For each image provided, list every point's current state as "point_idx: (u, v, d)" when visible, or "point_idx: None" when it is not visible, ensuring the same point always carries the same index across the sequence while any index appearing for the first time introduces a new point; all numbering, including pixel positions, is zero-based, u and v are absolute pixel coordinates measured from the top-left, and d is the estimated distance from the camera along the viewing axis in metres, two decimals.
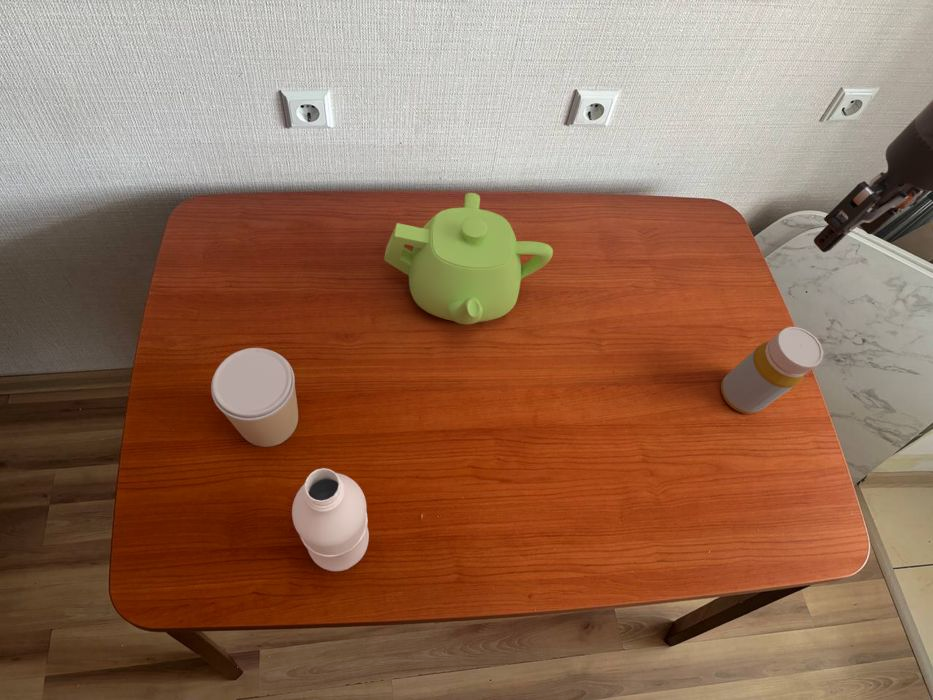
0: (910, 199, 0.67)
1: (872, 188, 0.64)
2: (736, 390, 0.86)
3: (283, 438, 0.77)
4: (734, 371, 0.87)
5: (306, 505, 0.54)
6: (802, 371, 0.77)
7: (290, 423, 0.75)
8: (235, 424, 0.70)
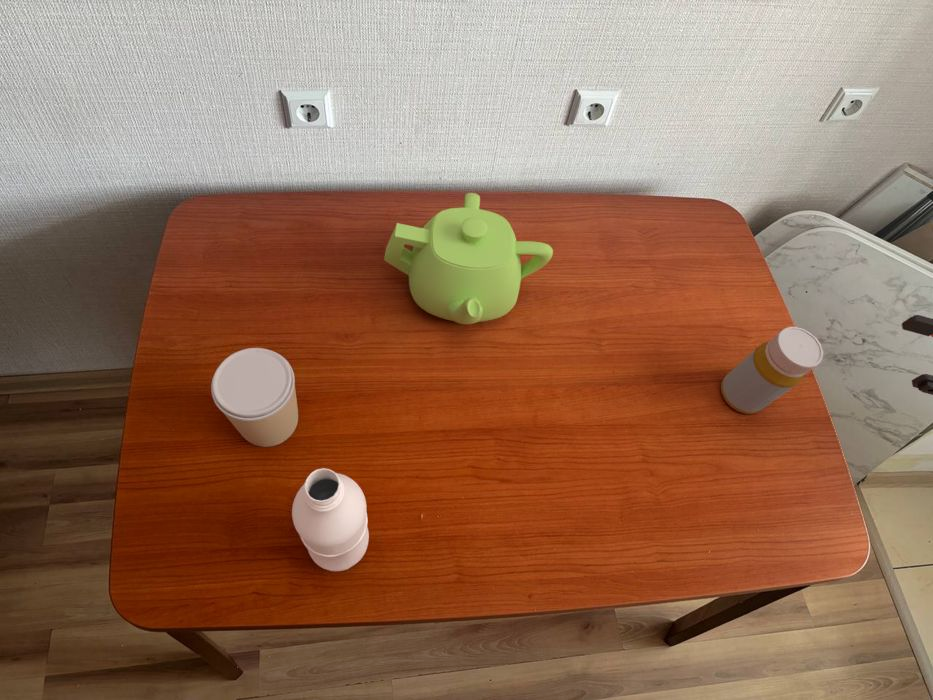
0: None
1: None
2: (736, 390, 0.86)
3: (283, 438, 0.77)
4: (734, 371, 0.87)
5: (306, 505, 0.54)
6: (802, 371, 0.77)
7: (290, 423, 0.75)
8: (235, 424, 0.70)
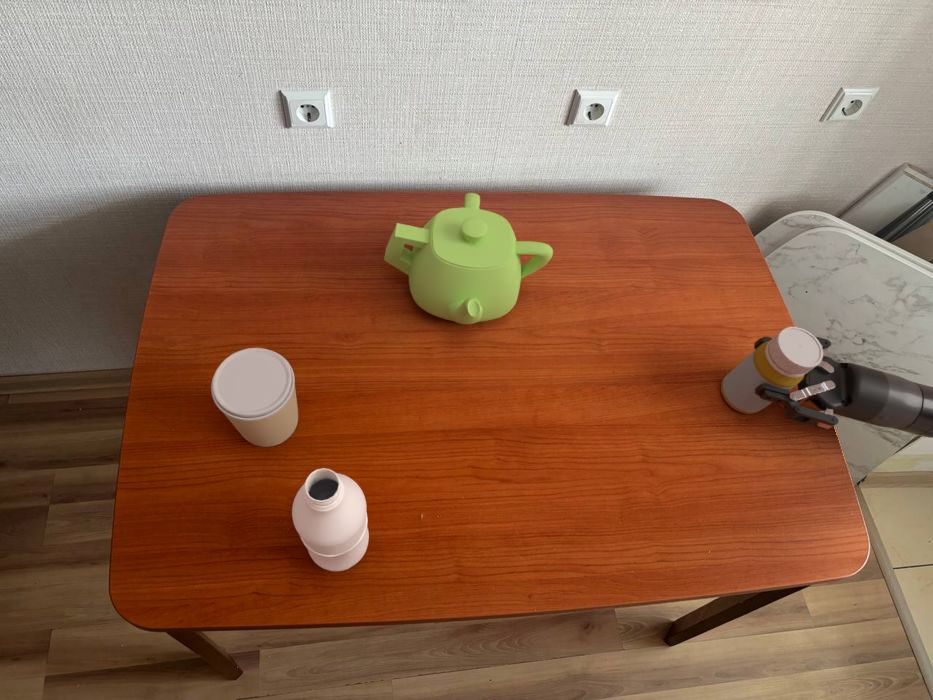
0: None
1: None
2: (736, 390, 0.86)
3: (283, 438, 0.77)
4: (734, 371, 0.87)
5: (306, 505, 0.54)
6: (802, 371, 0.77)
7: (290, 423, 0.75)
8: (235, 424, 0.70)
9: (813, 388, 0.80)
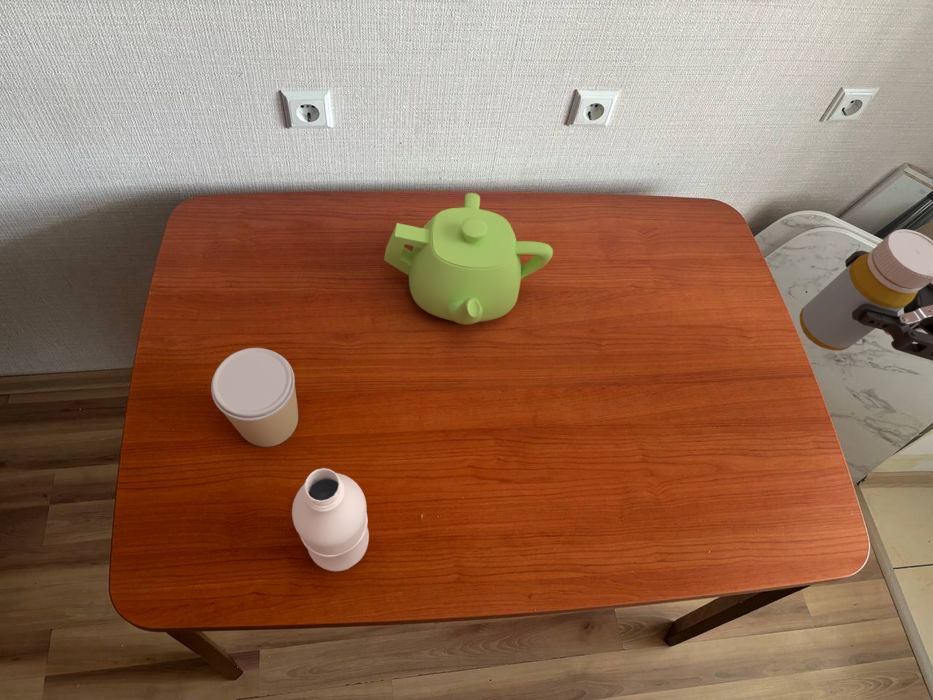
0: None
1: None
2: (822, 319, 0.69)
3: (283, 438, 0.77)
4: (819, 296, 0.70)
5: (306, 505, 0.54)
6: (920, 283, 0.60)
7: (290, 423, 0.75)
8: (235, 424, 0.70)
9: (928, 309, 0.63)
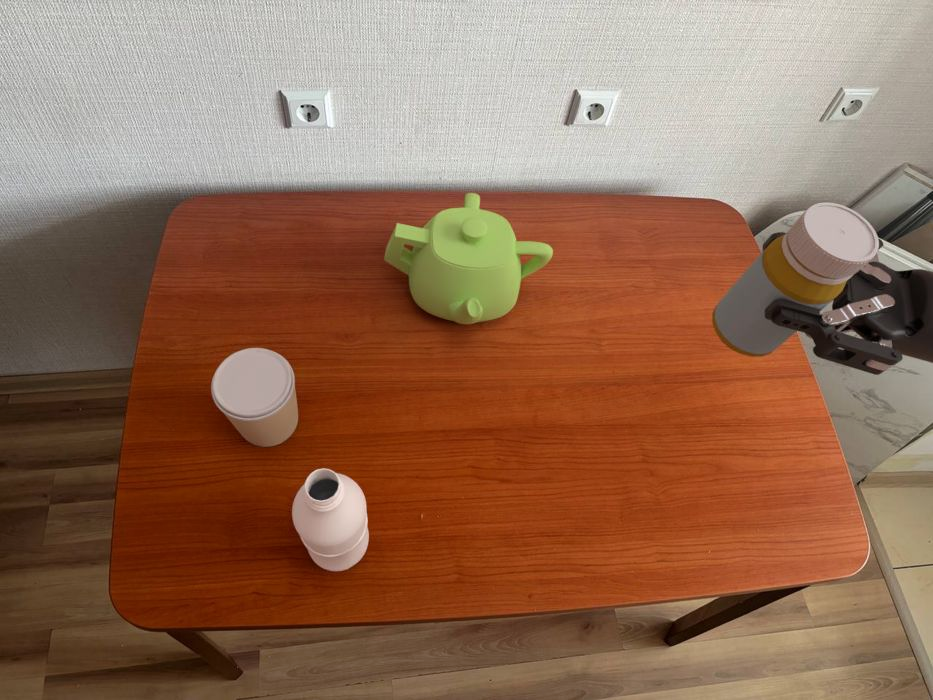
0: None
1: None
2: (735, 318, 0.55)
3: (283, 438, 0.77)
4: (732, 289, 0.56)
5: (306, 505, 0.54)
6: (844, 271, 0.46)
7: (290, 423, 0.75)
8: (235, 424, 0.70)
9: (859, 306, 0.50)
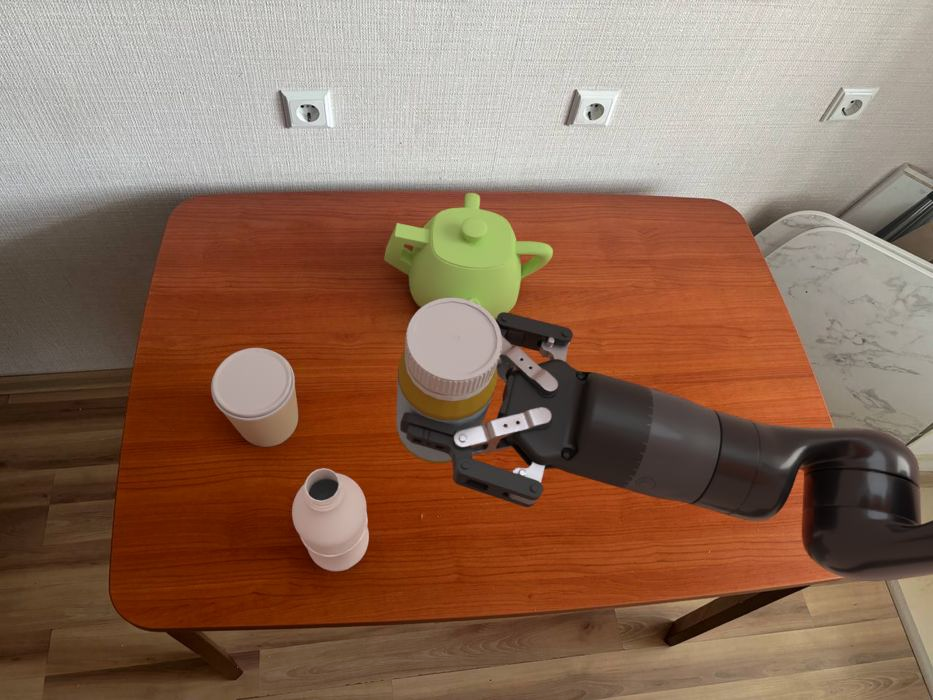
0: None
1: None
2: (399, 421, 0.46)
3: (283, 438, 0.77)
4: None
5: (306, 505, 0.54)
6: (453, 389, 0.37)
7: (290, 423, 0.75)
8: (235, 424, 0.70)
9: (504, 423, 0.40)
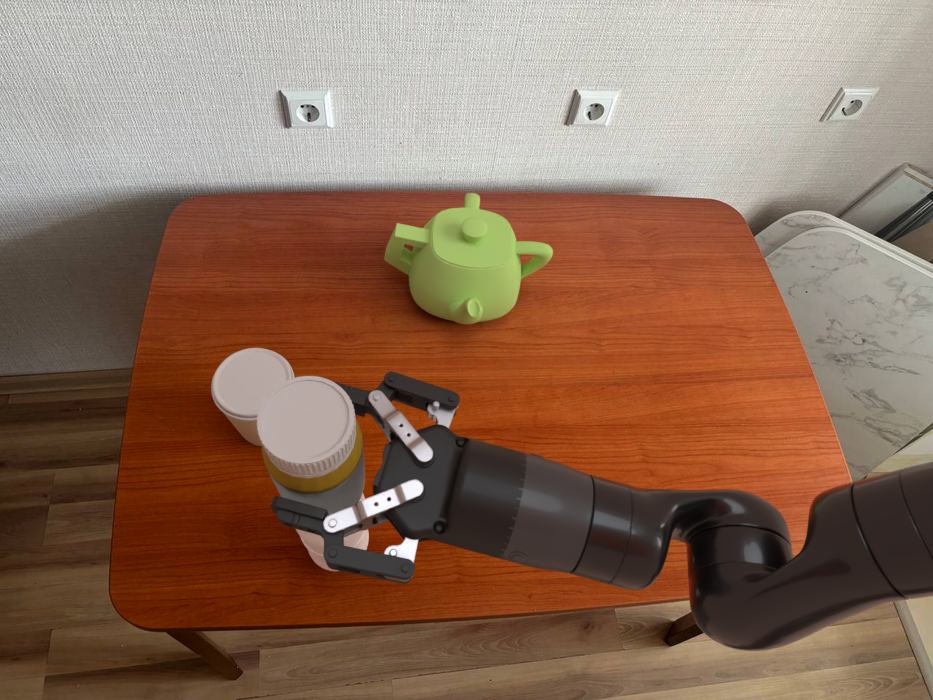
0: None
1: None
2: None
3: None
4: None
5: None
6: (304, 470, 0.38)
7: None
8: (235, 424, 0.70)
9: (375, 501, 0.39)
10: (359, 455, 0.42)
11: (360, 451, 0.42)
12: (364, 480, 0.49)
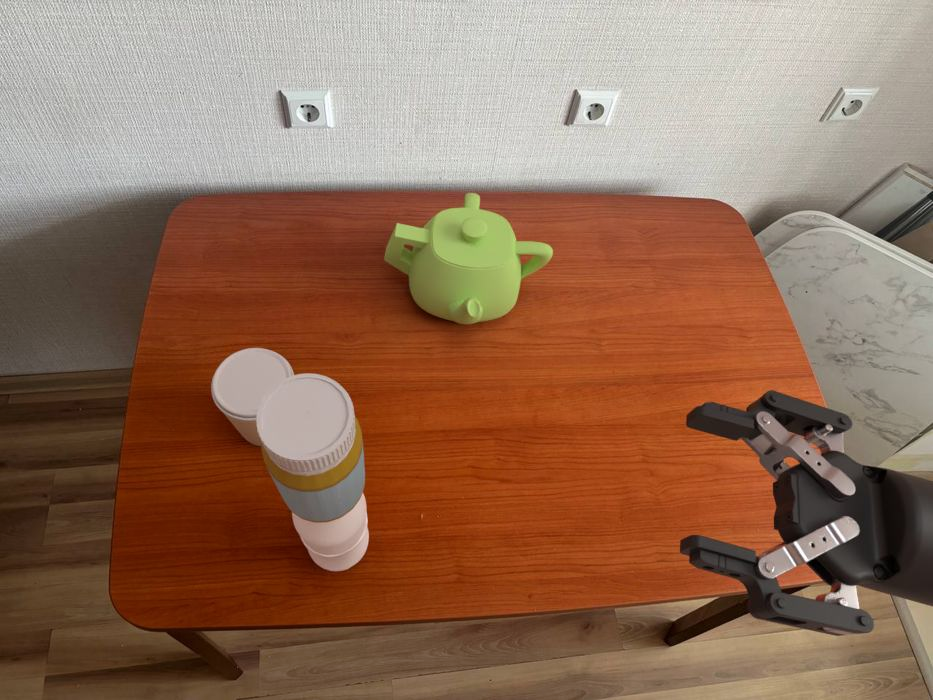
0: None
1: None
2: None
3: None
4: None
5: None
6: (303, 467, 0.38)
7: None
8: (235, 424, 0.70)
9: (811, 542, 0.34)
10: (358, 453, 0.42)
11: (359, 449, 0.42)
12: (364, 479, 0.49)
